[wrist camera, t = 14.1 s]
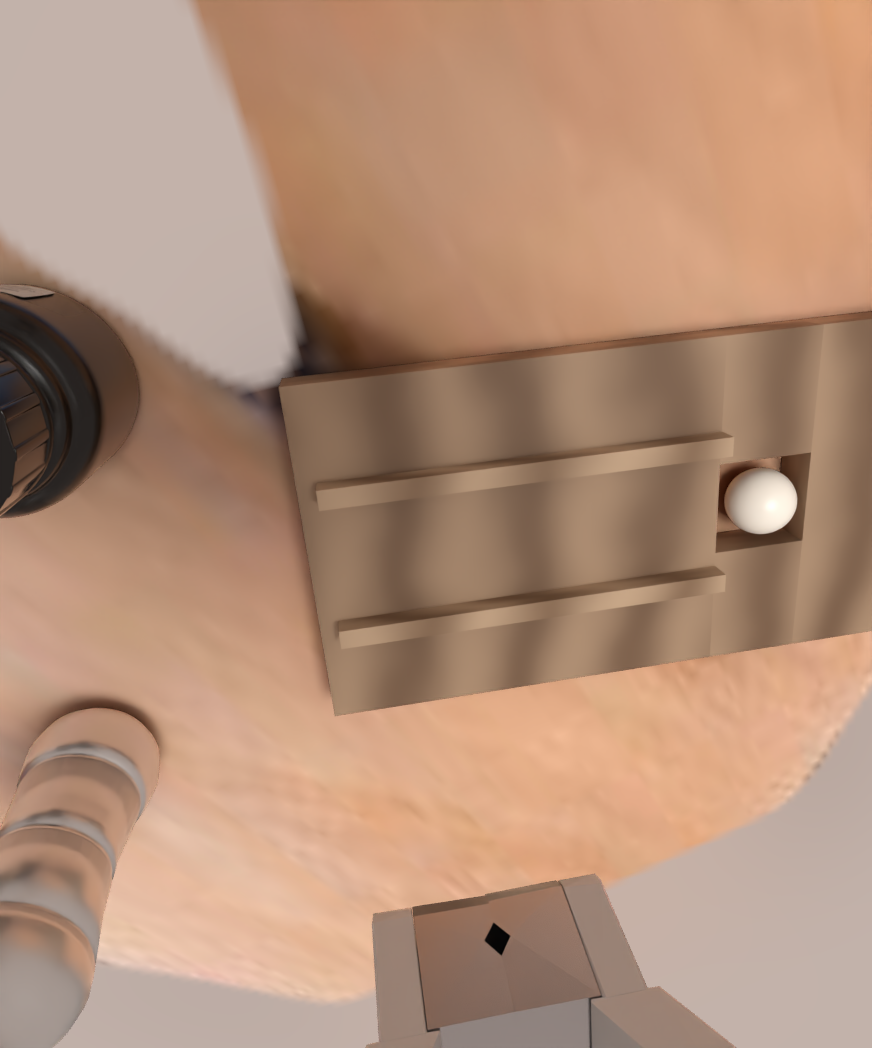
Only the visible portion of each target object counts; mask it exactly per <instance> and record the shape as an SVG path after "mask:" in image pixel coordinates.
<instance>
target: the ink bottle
mask: <svg viewBox="0 0 872 1048" xmlns="http://www.w3.org/2000/svg"><path fill="white" fill-rule="evenodd" d="M138 404H139V386H138V379H137V375H136V371H135V368H134V365H133V363H132V360H131V358H130V356H129V354H128V352H127V350H126V349H125V347H124V345H123V344H122V342H121V341H120V339H119V338H118V337H117V335H116V334H115V333H114V332H113V331H112V329H111V328H110V327H109V326H108V325H107V324H106V323H105V322H104V321H103V320H102V319H101V318H100V317H98V316H97V315H96V314H95V313H94V312H92V311H91V310H90V309H88V308H87V307H85V306H84V305H82V304H81V303H79V302H77V301H76V300H74V299H72V298H70V297H68V296H66V295H64V294H61V293H59V292H56V291H53V290H50V289H47V288H43V287H38V286H32V285H22V284H11V285H5V284H0V518H13V517H20V516H25V515H29V514H32V513H35V512H38V511H41V510H44V509H46V508H48V507H50V506H52V505H54V504H56V503H58V502H59V501H61V500H63V499H64V498H65V497H67V496H68V495H70V494H71V493H72V492H73V491H75V490H76V489H77V488H78V487H79V486H80V485H81V484H82V483H83V482H85V481H86V480H87V479H88V478H89V477H90V476H91V475H92V474H93V473H94V472H95V471H97V470H98V469H99V468H100V467H101V466H102V465H103V464H104V463H105V462H106V461H107V460H108V459H110V458H111V457H112V456H113V455H114V454H115V453H116V452H117V451H118V449H119V448H120V447H121V446H122V444H123V443H124V441H125V440H126V438H127V437H128V435H129V433H130V431H131V429H132V427H133V424H134V421H135V418H136V415H137V410H138Z"/></svg>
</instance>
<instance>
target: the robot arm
mask: <svg viewBox="0 0 872 1048" xmlns="http://www.w3.org/2000/svg"><path fill="white" fill-rule="evenodd" d="M412 909H413V915H412ZM412 909H411V908H405V909H399V910H393V911H387V912H381V913H375V914H373V922H372V932H373V949H374V966H375V983H376V1000H377V1017H378V1033H379V1042H376V1043H372V1044H368V1045H367V1046H366V1048H736V1047H735V1046H734V1045H733V1044H731V1043H730V1042H729V1041H727V1040H726V1039H725V1038H724V1037H723V1036H721V1035H720V1034H719V1033H718V1032H716V1031H715V1030H714V1029H713V1028H711V1027H710V1026H709V1025H707V1024H706V1023H705V1022H703V1021H702V1020H701V1019H700V1018H698V1017H697V1016H696V1015H695V1014H694V1013H692V1012H691V1011H690V1010H689V1009H687V1008H686V1007H685V1006H683V1005H682V1004H681V1003H680V1002H678V1001H677V1000H676V999H675V998H673V997H672V996H671V995H670V994H668V993H667V992H666V991H665V990H663V989H662V988H661V987H659V986H658V987H652V988H647V986H646V983H645V981H644V978H643V976H642V974H641V972H640V969H639V967H638V965H637V962H636V960H635V958H634V955H633V953H632V951H631V949H630V946H629V944H628V942H627V939H626V938H625V935H624V932H623V930H622V928H621V926H620V923H619V921H618V919H617V916H616V914H615V912H614V909H613V907H612V905H611V903H610V901H609V898H608V896H607V893H606V891H605V889H604V886H603V884H602V882H601V880H600V879H599V878H598V877H597V876H596V875H595V874H591V875H586V876H580V877H575V878H569V879H564V880H559V881H558V882H557V881H556V880H555V881H550V882H545V883H540V884H535V885H530V886H525V887H520V888H515V889H510V890H505V891H500V892H495V893H489V894H485V896H480V897H473V898H467V899H460V900H454V901H448V902H441V903H435V904H428V905H422V906H415V907H412ZM413 919H414V922H413ZM414 927H415V929H414Z"/></svg>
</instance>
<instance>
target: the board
mask: <svg viewBox="0 0 872 1048" xmlns="http://www.w3.org/2000/svg"><path fill="white" fill-rule="evenodd" d="M279 393H280V398H281V404H282V410H283V416H284V422H285V428H286V433H287V439H288V445H289V451H290V457H291V463H292V469H293V474H294V480H295V486H296V492H297V498H298V504H299V509H300V515H301V521H302V527H303V533H304V539H305V544H306V550H307V556H308V562H309V568H310V574H311V579H312V585H313V591H314V597H315V603H316V609H317V615H318V620H319V626H320V632H321V638H322V644H323V650H324V655H325V661H326V667H327V673H328V679H329V685H330V690H331V696H332V702H333V708H334V714H335V716H339V715H345V714H352V713H358V712H364V711H371V710H377V709H383V708H389V707H396V706H402V705H408V704H415V703H421V702H427V701H434V700H440V699H446V698H452V697H459V696H465V695H471V694H478V693H484V692H490V691H497V690H503V689H509V688H515V687H522V686H528V685H534V684H541V683H547V682H553V681H560V680H566V679H572V678H578V677H585V676H591V675H597V674H604V673H610V672H616V671H623V670H629V669H635V668H641V667H648V666H654V665H660V664H667V663H673V662H679V661H686V660H692V659H698V658H704V657H711V656H717V655H723V654H730V653H736V652H742V651H749V650H755V649H761V648H767V647H774V646H780V645H786V644H793V643H799V642H805V641H812V640H818V639H824V638H830V637H837V636H843V635H849V634H856V633H862V632H868V631H872V311H868V312H859V313H851V314H842V315H833V316H824V317H816V318H807V319H798V320H789V321H781V322H772V323H763V324H754V325H746V326H737V327H728V328H719V329H711V330H702V331H693V332H684V333H675V334H667V335H658V336H649V337H640V338H632V339H623V340H614V341H605V342H597V343H588V344H579V345H570V346H562V347H553V348H544V349H535V350H526V351H518V352H509V353H500V354H491V355H483V356H474V357H465V358H456V359H448V360H439V361H430V362H421V363H413V364H404V365H395V366H386V367H378V368H369V369H360V370H351V371H342V372H334V373H325V374H316V375H307V376H299V377H290V378H282V380H281V382H280V385H279ZM781 456H782V461H781V473H782V474H784V475H785V476H786V477H787V478H788V479H789V480H790V481H791V483H792V484H793V486H794V488H795V490H796V494H797V507H796V511H795V513H794V515H793V517H792V518H791V520H790V521H789V522H788V523H787V524H786V525H785V526H784V527H782V528H781V529H779V530H777V531H774V532H771V533H767V534H754V533H749V532H746V531H744V530H742V529H741V530H734V531H727V532H720V533H717V515H718V496H719V477H720V464H728V463H735V462H743V461H750V460H758V459H765V458H773V457H781Z"/></svg>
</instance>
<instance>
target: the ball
mask: <svg viewBox="0 0 872 1048" xmlns="http://www.w3.org/2000/svg"><path fill="white" fill-rule="evenodd" d="M724 504H725V509H726V512H727V515H728V517H729V518H730V520H731V521H732V522H733V523H734V524H735V525H736V526H737V527H739V528H740V529H742V530H744V531H746V532H749V533H754V534H767V533H771V532H774V531H777V530H779V529H781V528H782V527H784V526H785V525H786V524H787V523H788V522H789V521H790V520H791V518H792V517H793V515H794V513H795V511H796V507H797V494H796V490H795V488H794V486H793V484H792V483H791V481H790V480H789V479H788V478H787V477H786V476H785V475H784V474H782V473H780V472H778V471H776V470H773V469H770V468H753V469H749V470H746V471H744V472H742V473H741V474H739V475H738V476H736V477H735V478H734V479H733V480H732V481H731V483H730V484H729V486H728V488H727V490H726V493H725V498H724Z"/></svg>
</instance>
